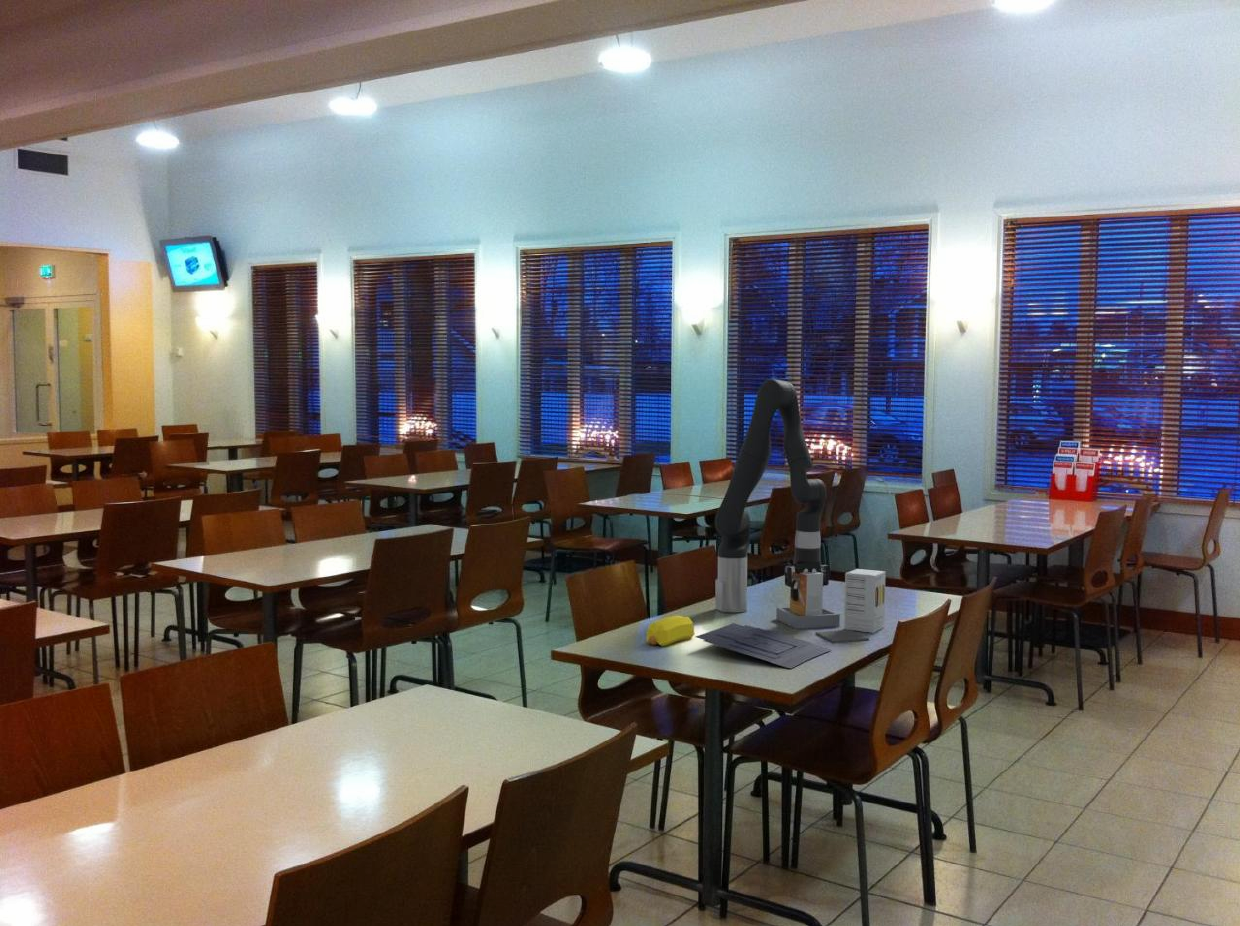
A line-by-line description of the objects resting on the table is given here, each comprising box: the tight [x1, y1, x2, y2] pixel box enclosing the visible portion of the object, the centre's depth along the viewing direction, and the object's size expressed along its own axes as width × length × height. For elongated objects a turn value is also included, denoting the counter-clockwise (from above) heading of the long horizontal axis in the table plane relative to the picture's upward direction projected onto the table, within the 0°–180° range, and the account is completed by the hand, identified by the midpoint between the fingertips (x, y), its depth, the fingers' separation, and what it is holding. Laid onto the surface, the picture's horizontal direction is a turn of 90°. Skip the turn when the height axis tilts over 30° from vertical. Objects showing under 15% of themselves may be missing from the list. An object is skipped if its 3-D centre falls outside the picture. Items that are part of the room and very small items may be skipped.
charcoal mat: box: [815, 629, 870, 644], centre depth 310 cm, size 11×11×1 cm
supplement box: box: [843, 568, 886, 634], centre depth 321 cm, size 10×9×17 cm
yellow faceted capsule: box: [646, 615, 695, 647], centre depth 306 cm, size 18×7×8 cm
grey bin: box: [775, 606, 841, 630], centre depth 329 cm, size 14×14×4 cm
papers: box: [695, 622, 832, 669], centre depth 294 cm, size 24×30×4 cm
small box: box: [789, 571, 824, 616], centre depth 329 cm, size 8×6×13 cm
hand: (806, 599), depth 329 cm, fingers closed on small box, 7 cm apart
